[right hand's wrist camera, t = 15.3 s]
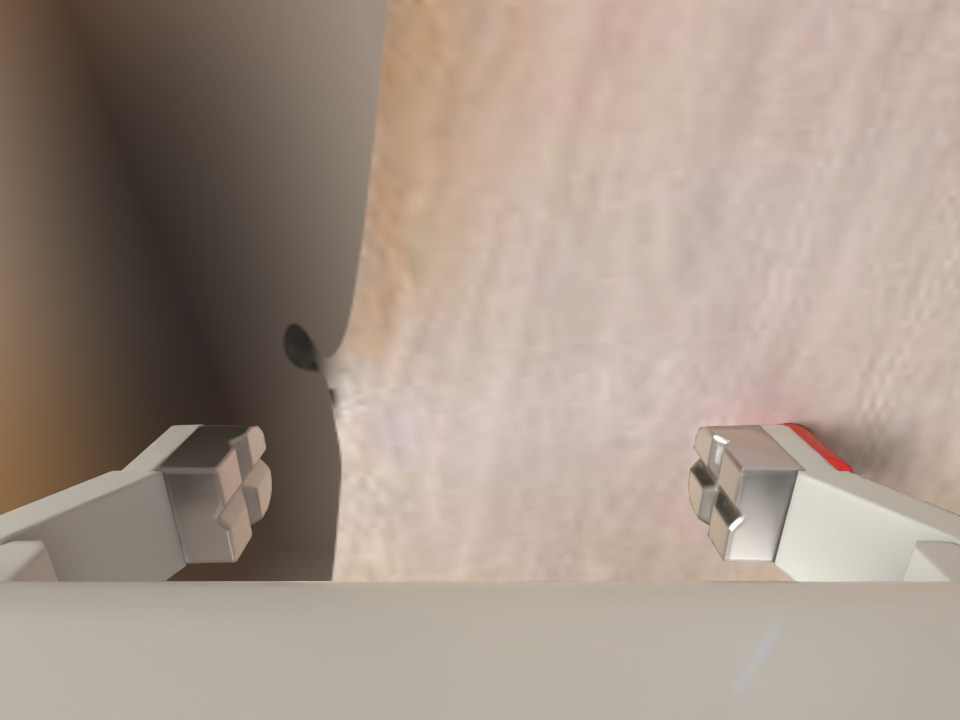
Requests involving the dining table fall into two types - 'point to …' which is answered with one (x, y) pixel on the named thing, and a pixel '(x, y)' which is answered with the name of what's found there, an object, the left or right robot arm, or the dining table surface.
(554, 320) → the dining table surface
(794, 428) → the canister
